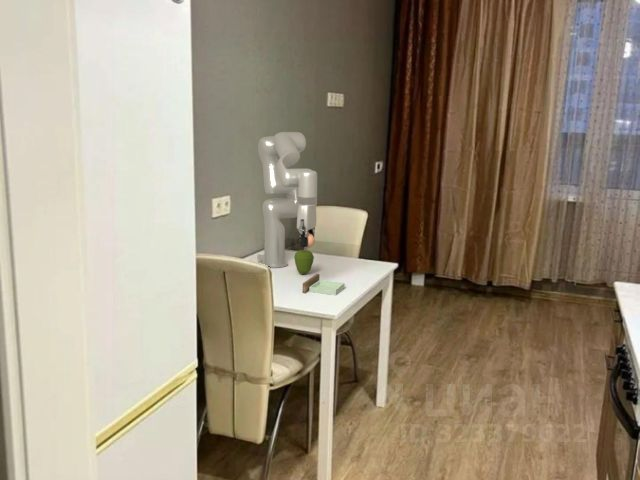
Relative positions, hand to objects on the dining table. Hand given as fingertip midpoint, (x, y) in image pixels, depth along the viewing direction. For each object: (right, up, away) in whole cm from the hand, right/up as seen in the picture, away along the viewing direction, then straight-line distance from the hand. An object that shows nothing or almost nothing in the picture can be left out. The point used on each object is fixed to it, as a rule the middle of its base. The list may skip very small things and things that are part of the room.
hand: (307, 244), depth 246 cm
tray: (+8, -19, +1) cm, 20 cm away
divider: (+2, -18, +3) cm, 18 cm away
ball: (0, -1, 0) cm, 1 cm away
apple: (-2, -14, +25) cm, 28 cm away
